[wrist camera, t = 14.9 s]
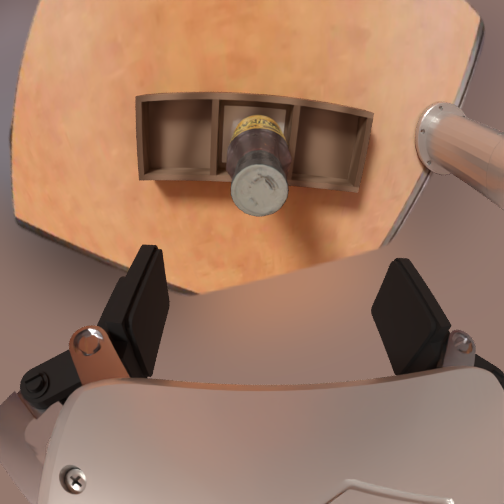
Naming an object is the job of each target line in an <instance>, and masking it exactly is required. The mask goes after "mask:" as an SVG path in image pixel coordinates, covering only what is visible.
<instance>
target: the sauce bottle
mask: <svg viewBox="0 0 504 504" xmlns="http://www.w3.org/2000/svg"><path fill="white" fill-rule="evenodd" d="M291 162H292V157H291V155H290V151H289V146H288V144H287V141H286V139H285V137H284V135H283V133H282V131H281V129H280V127H279V125H278V124H277V123H276V122H275V121H274V120H273V119H271V118H269V117H267V116H264V115H252V116H249V117H247V118H245V119H243V120H242V121H241V122H240V123H239V124H238V125H237V127H236V129H235V131H234V134H233V136H232V139H231V141H230V143H229V146H228V149H227V162H226V171H227V172H228V174H229V175H230V177H231V179H232V182H231V196H232V199H233V201H234V203H235V205H236V206H237V207H238V208H239V209H240V210H242V211H243V212H244V213H246V214H249V215H252V216H258V217H259V216H266V215H270V214H273V213H275V212H277V211H278V210H279V209H280V208H281V207H282V206H283V204H284V203H285V201H286V199H287V196H288V191H289V190H288V181H287V176H288V172H289V169H290V166H291Z"/></svg>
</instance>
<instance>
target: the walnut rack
mask: <svg viewBox="0 0 504 504" xmlns="http://www.w3.org/2000/svg"><path fill="white" fill-rule="evenodd" d="M252 115H264V116H267V117H269V118H271V119H273V120H274V121H275V122H276V123H277V124H278V125H279V127H280V129H281V131H282V133H283V135H284V137H285V139H286V141H287V144H288V146H289V151H290V155H291V157H292V162H291V166H290V169H289V172H288V176H287V181H288V186H300V187H311V188H321V189H330V190H339V191H348V192H356V193H358V191H359V187H360V182H361V178H362V173H363V169H364V164H365V159H366V154H367V149H368V144H369V139H370V133H371V127H372V122H373V116H374V113H372V112H369V111H366V110H362V109H358V108H353V107H348V106H343V105H338V104H333V103H327V102H321V101H315V100H308V99H301V98H293V97H285V96H275V95H264V94H251V93H231V92H177V93H158V94H145V95H140V96H136V138H137V157H138V171H139V180H192V181H224V182H232V179H231V177H230V175H229V174H228V172H227V171H226V162H227V149H228V146H229V143H230V141H231V139H232V136H233V134H234V131H235V129H236V127H237V125H238V124H239V123H240V122H241V121H242V120H243V119H245V118H247V117H249V116H252Z"/></svg>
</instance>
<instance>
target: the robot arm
mask: <svg viewBox="0 0 504 504" xmlns="http://www.w3.org/2000/svg"><path fill="white" fill-rule="evenodd" d="M415 144H416V149H417V153H418V155H419V158H420V160H421V161H422V163H423V164H424V165H425V166H426V167H427V168H428V169H429V170H431V171H432V172H434V173H436V174H440V175H448V174H451V173H452V174H453V175H455V176H456V177H458V178H459V179H461V180H462V181H464V182H465V183H467V184H468V185H470V186H471V187H473V188H474V189H475V190H477V191H478V192H479V193H481V194H482V195H483V196H485V197H486V198H487V199H489V200H490V201H491V202H493V203H494V204H496V205H497V206H498V207H499V208H501V209H502V210H504V132H502V131H499V130H497V129H494V128H492V127H490V126H487V125H484V124H482V123H479V122H477V121H474V120H471V119H468V118H467V117H466V115H465V114H464V112H463V111H462V110H461V109H460V108H459V107H457V106H455V105H454V104H451V103H447V102H437V103H434V104H432V105H431V106H429V107H428V108H427V109H426V110H425V111H424V112H423V113H422V115H421V117H420V119H419V121H418V123H417V127H416V133H415ZM168 310H169V296H168V289H167V282H166V275H165V268H164V260H163V253H162V250H161V249H158V247H157V246H156V245H142V246H141V248H140V250H139V251H138V253H137V255H136V257H135V259H134V261H133V263H132V265H131V267H130V269H129V271H128V273H127V275H126V277H121V278H120V279H119V281H118V283H117V285H116V287H115V289H114V290H113V293H112V294H111V297H110V299H109V301H108V303H107V305H106V307H105V309H104V311H103V313H102V316H101V318H100V320H99V322H98V325H97V326H95V325H88V326H84V327H82V328H80V329H78V330H77V331H75V332H74V333H73V335H72V336H71V338H70V341H69V350H67V351H65V352H63V353H61V354H59V355H57V356H56V357H54V358H52V359H50V360H48V361H46V362H44V363H42V364H40V365H38V366H36V367H35V368H32V369H31V370H29V371H28V372H27V373H26V374H25V375H24V376H23V378H22V380H21V384H20V391H19V392H18V393H16V392H15V391H14V392H13V393H12V394H11V395H10V396H9V397H8V398H7V399H6V400H5V401H4V402H3V403H2V404H1V405H0V463H1V464H2V466H3V467H4V469H5V470H6V472H7V473H8V474H9V476H10V477H11V479H12V480H13V481H14V483H15V484H16V485H17V487H18V488H19V489H20V491H21V492H22V493H23V495H24V496H25V497H26V498H27V500H28V501H29V502H30V503H31V504H504V373H503V372H502V371H501V370H500V369H499V368H497V367H496V366H494V365H493V364H491V363H489V362H488V361H486V360H485V359H483V358H481V357H480V356H478V355H477V354H475V352H476V346H475V343H474V341H473V339H472V338H471V337H470V336H469V335H468V334H467V333H466V332H464V331H461V330H454V331H452V332H451V333H450V332H449V331H448V330H449V329H450V327H451V324H450V322H449V320H448V319H447V317H446V315H445V314H444V312H443V311H442V309H441V307H440V305H439V304H438V302H437V301H436V299H435V297H434V296H433V294H432V293H431V291H430V289H429V288H428V286H427V285H426V283H425V282H424V281H423V279H422V277H421V276H420V274H419V273H418V271H417V270H416V269H415V267H414V266H413V264H412V263H411V261H410V260H409V259H407V258H396V259H395V260H394V261H392V262H391V264H390V266H389V268H388V271H387V273H386V276H385V278H384V280H383V283H382V285H381V288H380V290H379V292H378V294H377V297H376V299H375V301H374V303H373V306H372V309H371V313H372V316H373V319H374V321H375V323H376V326H377V329H378V331H379V334H380V336H381V338H382V341H383V344H384V346H385V349H386V352H387V354H388V357H389V360H390V363H391V365H392V368H393V371H394V373H395V375H396V376H390V377H382V378H374V379H366V380H357V381H346V382H336V383H320V384H298V385H236V384H215V383H198V382H183V381H173V380H163V379H148V378H147V377H151V376H152V374H153V370H154V366H155V361H156V357H157V353H158V349H159V344H160V341H161V337H162V333H163V329H164V325H165V321H166V318H167V314H168ZM49 439H50V442H49V446H48V450H47V453H46V445H47V442H48V441H49Z"/></svg>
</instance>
